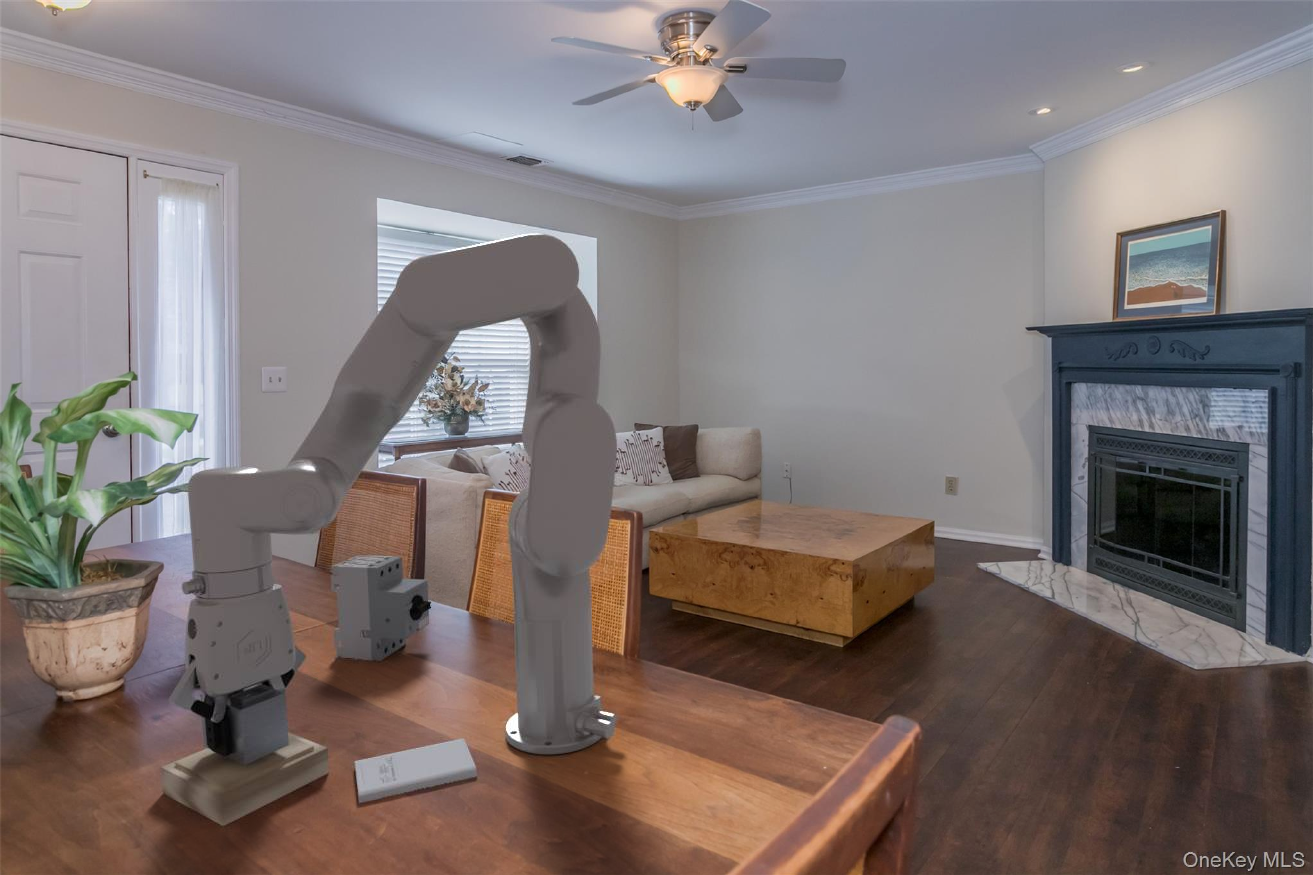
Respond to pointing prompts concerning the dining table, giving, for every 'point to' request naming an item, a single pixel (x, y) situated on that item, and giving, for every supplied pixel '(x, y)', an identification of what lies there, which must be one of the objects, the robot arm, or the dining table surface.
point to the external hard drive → (413, 769)
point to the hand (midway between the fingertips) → (246, 739)
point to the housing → (255, 722)
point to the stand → (242, 779)
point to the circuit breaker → (376, 606)
